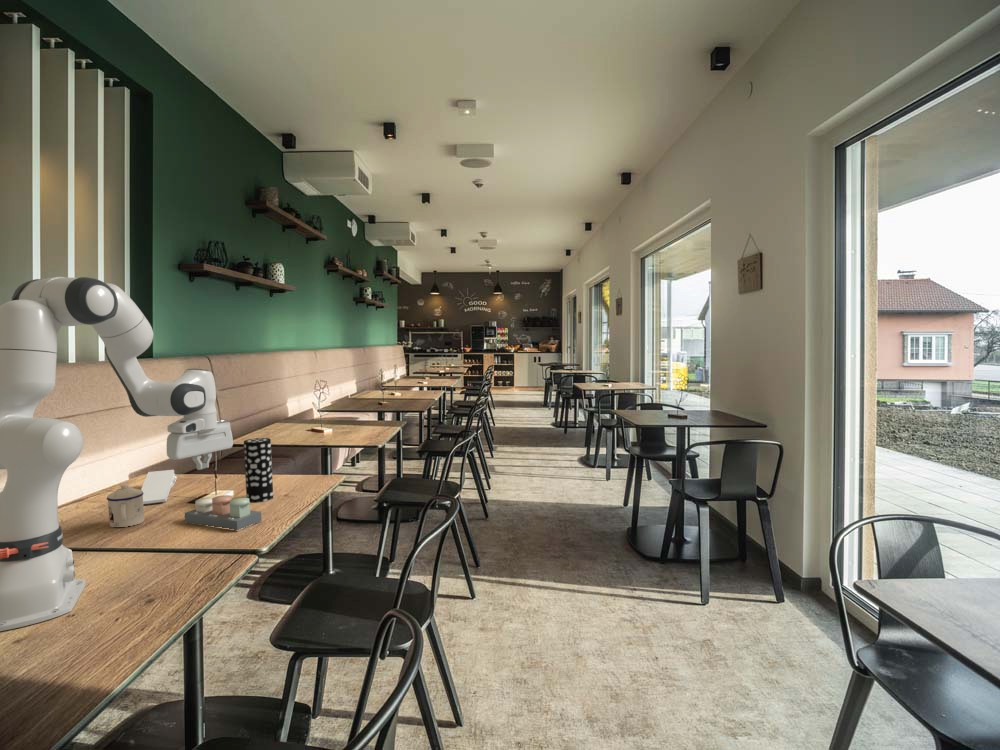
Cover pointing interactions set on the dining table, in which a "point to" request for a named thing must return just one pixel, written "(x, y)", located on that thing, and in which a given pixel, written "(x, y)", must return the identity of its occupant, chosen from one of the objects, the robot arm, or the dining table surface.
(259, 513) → the button panel
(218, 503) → the pink dome knob
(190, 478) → the dining table surface
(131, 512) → the teacup with lid
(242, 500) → the button two dots
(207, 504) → the button one dot
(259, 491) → the spotted tube
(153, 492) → the wall bracket
